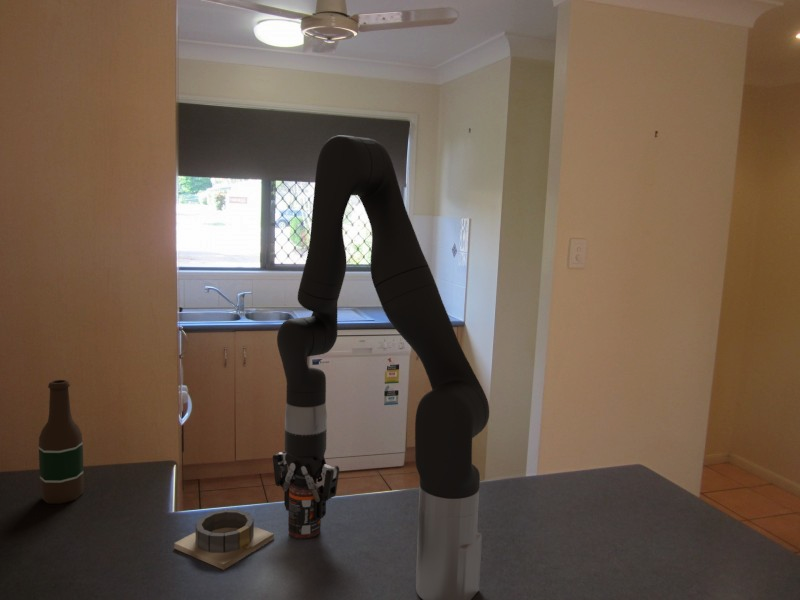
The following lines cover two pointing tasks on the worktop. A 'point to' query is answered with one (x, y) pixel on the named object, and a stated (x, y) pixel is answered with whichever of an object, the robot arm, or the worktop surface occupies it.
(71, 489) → the beer bottle
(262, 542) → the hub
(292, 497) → the supplement bottle
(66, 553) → the worktop surface
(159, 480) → the worktop surface
